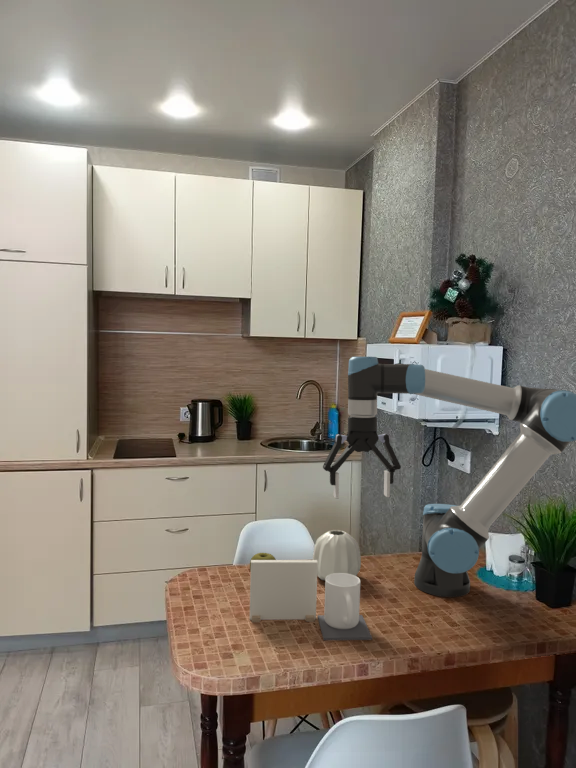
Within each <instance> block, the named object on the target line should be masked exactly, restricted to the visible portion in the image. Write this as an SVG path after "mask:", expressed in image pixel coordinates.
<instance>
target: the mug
mask: <svg viewBox="0 0 576 768" xmlns="http://www.w3.org/2000/svg"><path fill="white" fill-rule="evenodd" d="M324 581H325V582H324V587H325V588H324V612H323V613H324V614H323V615H324V619H325V622H326V623H327V624H328V625H329V626H331V627H333V628H337V629H351V628H353V627H355V626H356V625H357V624H358V622H359V615H360V602H361V579H360V578H359V577H358V575H357V576H354V575H352V574H347V573H334V574H330V575H328V576H327V577H326V578H325V580H324Z"/></svg>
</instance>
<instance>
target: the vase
mask: <svg viewBox="0 0 576 768" xmlns="http://www.w3.org/2000/svg"><path fill="white" fill-rule="evenodd" d="M314 544H315V545H314V548H313V554H312V560H317V562H318V566H317V578H319V579H320V580H321V581H325V578H326V577H327V576H328V575H330V574H334V573H347V574H352V575H354V576H357V577H358V573H359V572H360V571H361V567H362V566H361V565H362V563H361V562H362V559H361V551H360V547H359V546H360V545H359V543H358V541H357V540H356V539H355V538H354V537H353V536H352V535H351V534H349V533H348V532H346V531H344V530H340V529H332V530H328V531H326V532H325V533H322V535H320V536H318V537H317V539H316V541H315V543H314Z"/></svg>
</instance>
